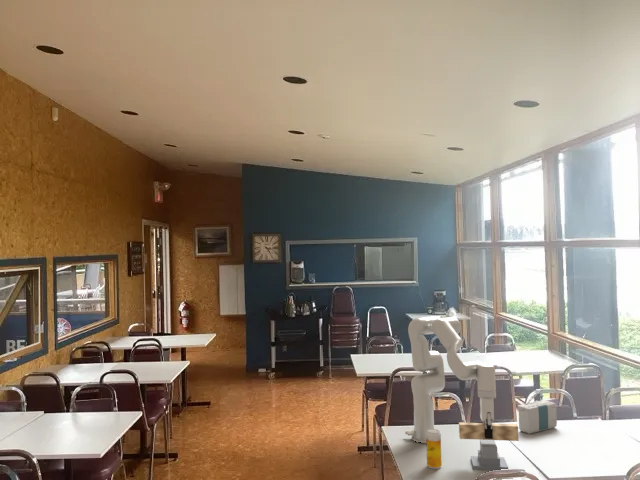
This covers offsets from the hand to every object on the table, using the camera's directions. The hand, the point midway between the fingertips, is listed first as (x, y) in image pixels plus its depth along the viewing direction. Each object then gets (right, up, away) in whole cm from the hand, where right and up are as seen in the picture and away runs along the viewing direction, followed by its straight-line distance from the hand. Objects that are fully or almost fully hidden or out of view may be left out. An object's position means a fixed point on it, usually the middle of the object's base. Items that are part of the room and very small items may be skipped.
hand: (488, 436), depth 239 cm
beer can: (-23, -13, -1) cm, 27 cm away
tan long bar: (0, -1, 0) cm, 1 cm away
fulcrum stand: (0, -12, 0) cm, 12 cm away
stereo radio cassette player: (+40, -14, +47) cm, 63 cm away
